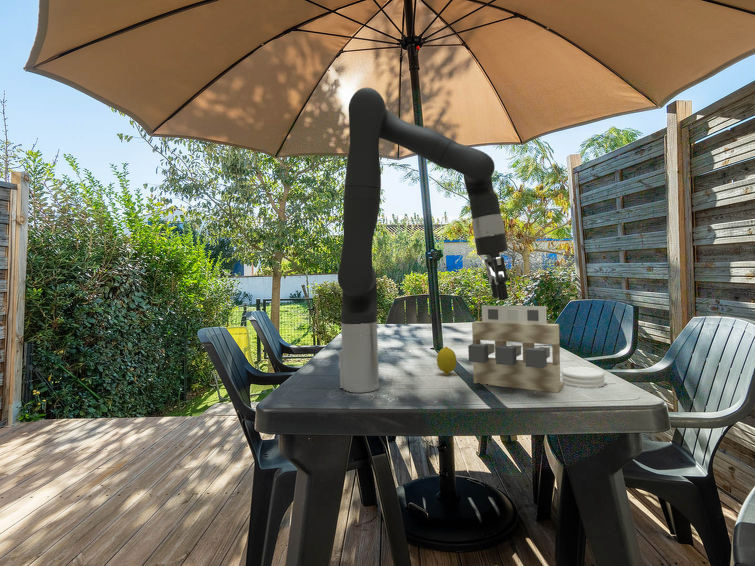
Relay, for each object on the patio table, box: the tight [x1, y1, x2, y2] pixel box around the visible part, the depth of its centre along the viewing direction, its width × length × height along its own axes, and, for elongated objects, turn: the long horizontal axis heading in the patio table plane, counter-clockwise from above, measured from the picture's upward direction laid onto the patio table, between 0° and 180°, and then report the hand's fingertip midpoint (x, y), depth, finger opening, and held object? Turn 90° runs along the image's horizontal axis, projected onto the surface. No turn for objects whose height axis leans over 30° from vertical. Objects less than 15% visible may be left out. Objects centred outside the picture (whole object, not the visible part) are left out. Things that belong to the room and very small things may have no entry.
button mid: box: [496, 344, 522, 366], centre depth 112 cm, size 4×10×4 cm, turn 146°
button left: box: [467, 343, 495, 363], centre depth 116 cm, size 4×10×4 cm, turn 146°
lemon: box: [436, 346, 457, 375], centre depth 130 cm, size 6×6×8 cm
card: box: [481, 304, 548, 325], centre depth 114 cm, size 16×1×4 cm, turn 56°
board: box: [471, 320, 564, 394], centre depth 116 cm, size 21×6×16 cm, turn 56°
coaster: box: [561, 366, 606, 389], centre depth 115 cm, size 10×10×4 cm
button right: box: [525, 346, 551, 368], centre depth 108 cm, size 4×10×4 cm, turn 146°
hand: (500, 298), depth 114 cm, fingers open, 8 cm apart
